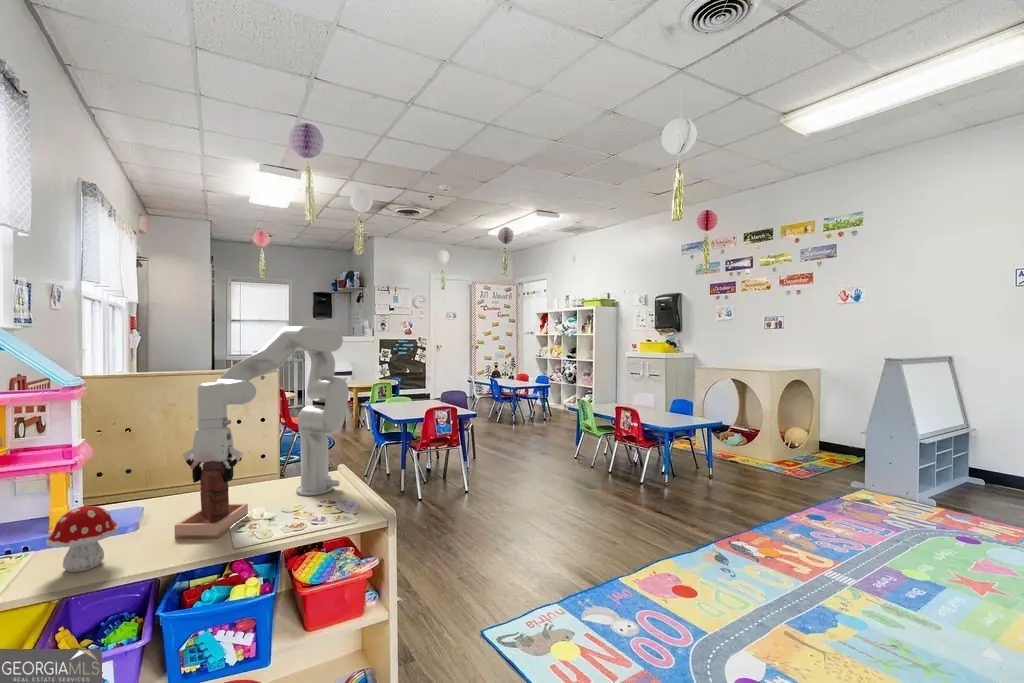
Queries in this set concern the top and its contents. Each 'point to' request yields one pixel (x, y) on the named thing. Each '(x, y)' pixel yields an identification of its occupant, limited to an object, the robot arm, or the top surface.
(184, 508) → the top surface
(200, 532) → the tray
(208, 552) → the top surface
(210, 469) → the wooden figurine
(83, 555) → the decorative mushroom
